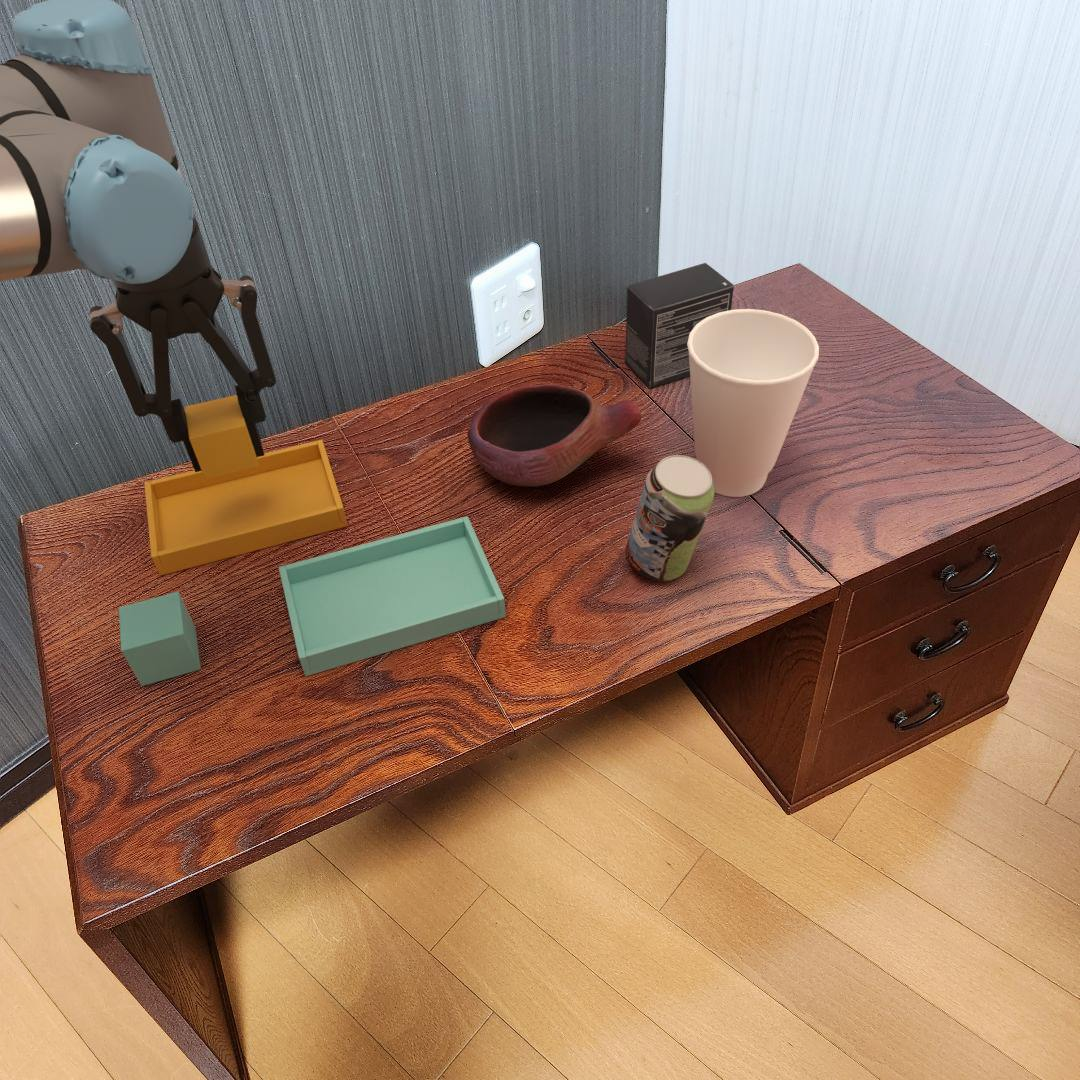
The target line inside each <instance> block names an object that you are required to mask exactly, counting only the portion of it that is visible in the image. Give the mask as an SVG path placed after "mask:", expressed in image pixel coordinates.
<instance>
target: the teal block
mask: <svg viewBox="0 0 1080 1080" xmlns="http://www.w3.org/2000/svg"><path fill="white" fill-rule="evenodd" d="M118 618H119V636H120V637H119V638H120V652H121V653H122V655H123V657H124V658H125V660H126V662H127V664H128V666H129V667H130V669H131V670H132V672H133V674H134V675H135V677H136V679H137V681H138V683H139V684H140V686H141V687H144V686H148V685H151V684H155V683H157V682H161V681H165V680H168V679H172V678H175V677H178V676H179V677H180V676H183V675H186V674H189V673H192V672H197V671H199V670H202V667H201V660H200V659H201V658H200V653H199V652H200V651H199V644H198V637H197V629H196V626H195V623H194V621H193V619H192V617H191V615H190V613H189V611H188V609H187V607H186V604H185V602H184V600H183V597H182V595H181V594H180V592H179V591H174V592H170V593H167V594H163V595H159V596H156V597H152V598H148V599H145V600H141V601H137V602H134V603H133V602H132V603H131V604H130V603H129V604H127V605H122V606H119V607H118Z"/></svg>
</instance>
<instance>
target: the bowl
mask: <svg viewBox="0 0 1080 1080" xmlns="http://www.w3.org/2000/svg"><path fill="white" fill-rule="evenodd" d="M641 412H642V411H641V408H640V407H639V406H638V404H637V403H636V402H635V401H634V400H631V399H623V400H620V401H618V402H616V403H614V404H608V405H607V404H599V403H598V402H597V401H596V400H594V398H593V397H592V396H591V395H589V394H588V393H587V392H586V391H584V390H580V389H578V388H576V387H573V386H568V385H564V384H558V383H557V384H555V383H545V384H535V385H523V386H518V387H514V388H510V389H508V390H506V391H505V390H504V391H503V392H501V393H499V394H496V395H494V396H492V397H491V398H490V399H488V400H487V401H486V402H485V403H483V405H482V407H481V408H480V409H479V410H478V411H477V412H476V413H475V414H474V415H473V416H472V417H471V419H470V424H469V428H468V430H467V432H466V435H467V440H468V443H469V446H470V447H469V448H470V450H471V451H472V455H473V456H474V458H475V460H476V461H477V462H478V464H479V466H480V467H481V468H482V469H483V470H484V471H485V472H486V473H487V474H489V475H490V476H492V477H493V478H495V479H496V480H498V481H500V482H502V483H505V484H508V485H511V486H516V487H542V486H546V485H550V484H553V483H555V482H557V481H560V480H561V479H563V478H565V477H567V476H568V475H569V474H571V473H573V471H575V470H576V469H577V468H579V467H580V466H581V465H583V464H584V463H585V462H586V461H587V460H589V459H590V458H591V457H592V456H593V455H595V454H596V453H597V452H598V451H600V450H602V448H605V446H607V445H609V444H611V443H614V442H615V441H616V440H618V439H620V438H622V437H623V436H625V435H627V434H628V433H630V432H632V431H633V430H634V429H635V428H636V427H637V426H638V425H639V424H640V422H641V421H642V413H641Z"/></svg>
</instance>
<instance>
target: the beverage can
mask: <svg viewBox="0 0 1080 1080" xmlns="http://www.w3.org/2000/svg"><path fill="white" fill-rule="evenodd" d="M714 498H715V492H714V486H713V483H712V476H711V473H710V472H709V470H708V469H707V467H706V466H705V465H703V464H702V463H701V462H699V461H698V460H697V459H696V458H693V457H690V456H687V455H678V454H675V455H670V456H669V455H668V456H666V457H664V458H662V459H661V460H660V461H658V463H657V464H656V465H654V466H653V467H652V468H651V469H650V470H649V471H648V473H647V475H646V477H645V481H644V483H643V487H642V491H641V494H640V497H639V501H638V505H637V508H636V512H635V515H634V517H633V521H632V526H631V529H630V532H629V536H628V539H627V543H626V546H625V556H626V560H627V562H628V564H629V565H630V566H631V568H632V569H633V570H634V571H635V572H636V573H638V574H639V575H640V576H642V577H644V578H647V579H649V580H654V581H660V582H666V581H667V582H668V581H672V580H675V579H678V578H679V577H681V576H682V575H683V574H685V572H687V569H688V568H689V565H690V562H691V560H692V557H693V554H694V552H695V549H696V546H697V543H698V540H699V538H700V536H701V533H702V530H703V528H704V526H705V522H706V519H707V517H708V515H709V512H710V509H711V507H712V504H713V501H714Z"/></svg>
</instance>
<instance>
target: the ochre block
mask: <svg viewBox="0 0 1080 1080" xmlns="http://www.w3.org/2000/svg"><path fill="white" fill-rule="evenodd" d="M184 411H185V413H186V419H187V426H188V434H189V439H190V442H191V444H192V447H193V450H194V452H195V455H196V457H197V460H198V462H199V465H200V467H201V470H202V473H203V475H204V478H205V480H206V479H210V478H214V477H218V476H222V475H227V474H231V473H235V472H239V471H243V470H247V469H251V468H255V467H259V464H258V460H257V456H256V453H255V450H254V447H253V444H252V441H251V438H250V435H249V432H248V429H247V426H246V423H245V420H244V418H243V415H242V412H241V409H240V406H239V403H238V398H237V394H235V395H231V396H225V397H221V398H216V399H213V400H208V401H203V402H200V403H199V402H198V403H195V404H190V405H187V406H184Z"/></svg>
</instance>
